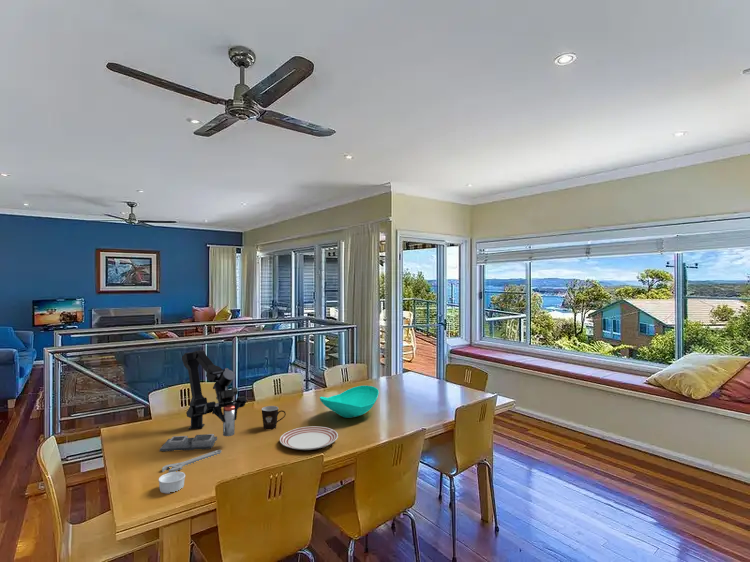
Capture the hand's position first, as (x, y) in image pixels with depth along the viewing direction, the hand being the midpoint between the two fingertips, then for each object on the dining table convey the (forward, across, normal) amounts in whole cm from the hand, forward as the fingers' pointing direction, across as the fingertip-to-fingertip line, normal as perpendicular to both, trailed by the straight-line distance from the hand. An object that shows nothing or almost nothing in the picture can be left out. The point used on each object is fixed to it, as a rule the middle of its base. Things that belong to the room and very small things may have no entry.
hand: (230, 420), depth 189 cm
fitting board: (-1, -14, +18) cm, 23 cm away
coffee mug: (+1, +26, +16) cm, 31 cm away
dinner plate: (+21, +32, -4) cm, 38 cm away
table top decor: (+7, +70, +10) cm, 71 cm away
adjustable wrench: (+14, -18, +3) cm, 23 cm away
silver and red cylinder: (+4, 0, +6) cm, 7 cm away
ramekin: (+26, -30, -9) cm, 41 cm away
